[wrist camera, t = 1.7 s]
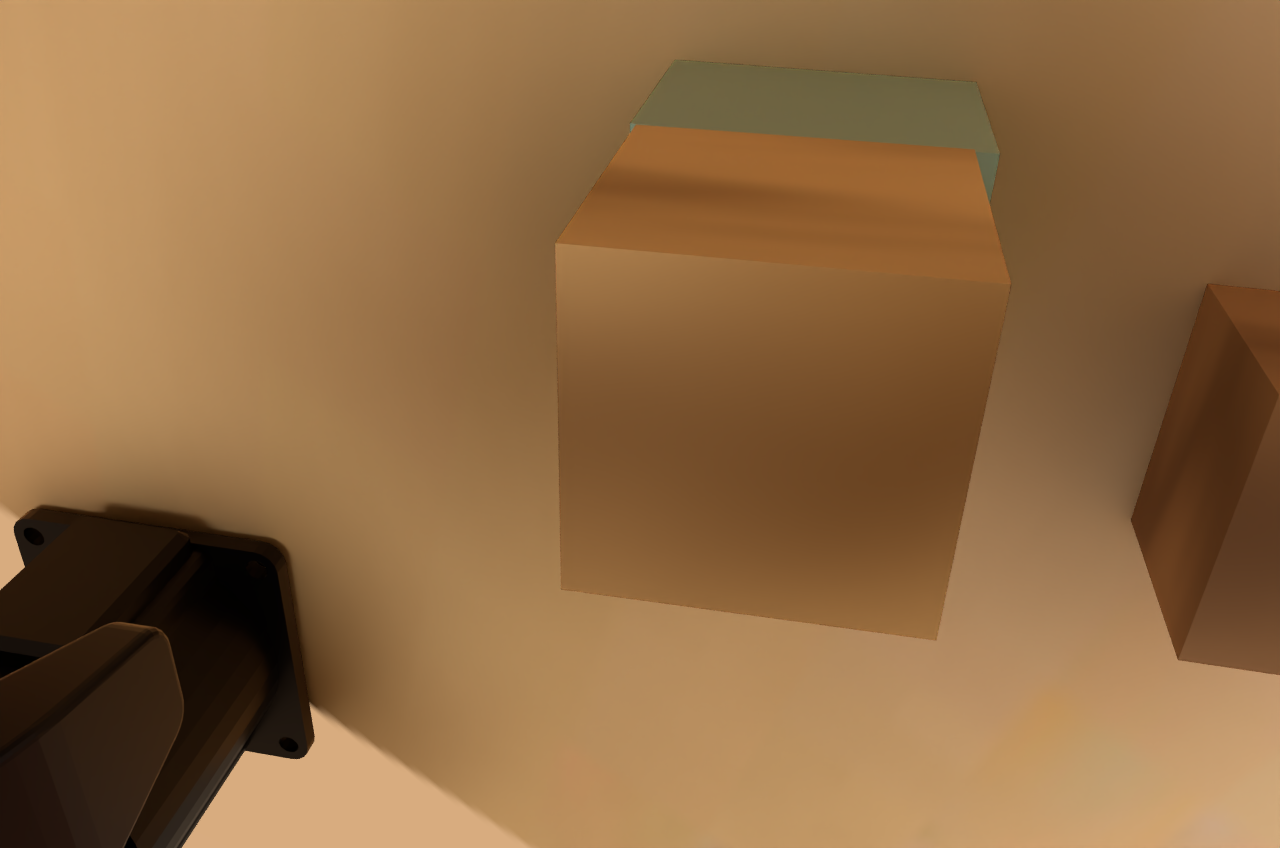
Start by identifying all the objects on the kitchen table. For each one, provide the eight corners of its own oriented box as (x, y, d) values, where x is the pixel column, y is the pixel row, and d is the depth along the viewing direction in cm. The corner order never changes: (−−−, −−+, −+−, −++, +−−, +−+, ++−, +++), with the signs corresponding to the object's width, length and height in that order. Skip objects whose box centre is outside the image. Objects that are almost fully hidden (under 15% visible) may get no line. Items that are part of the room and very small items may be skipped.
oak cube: (922, 442, 16) (935, 640, 13) (629, 410, 17) (560, 589, 13) (974, 149, 14) (1011, 284, 10) (635, 124, 15) (554, 243, 11)
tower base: (926, 350, 20) (936, 469, 16) (663, 322, 21) (622, 431, 17) (975, 79, 17) (999, 153, 14) (675, 58, 18) (629, 123, 15)
